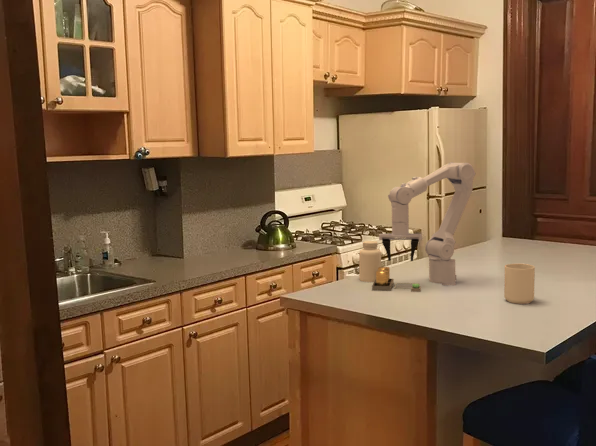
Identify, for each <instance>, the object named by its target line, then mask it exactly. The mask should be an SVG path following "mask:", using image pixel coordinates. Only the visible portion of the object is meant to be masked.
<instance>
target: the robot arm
mask: <svg viewBox="0 0 596 446" xmlns="http://www.w3.org/2000/svg"><path fill="white" fill-rule="evenodd" d="M475 176H476V172H475V169H474V166H473V165H472V164H471V163H470V162H454V161H451V162H448V163H447V164H443V165H442V166H441V167H439V168H437V169H436V170H434V171H433V172H430V173H429V174H428V175H426V176H424V177H422V176H413V177H412V178H411V180H409V181H407V182H406V183H405V182H402V183H401V184H400V186H394V187H393V188H391V189H390V191H389V193H388V195H387V197H388V200H389V201H390V203H391V233H379V234H378V239H379V241H381V243H382V246H383V247H384V249H385V252H386V255H387V261H389V262H391V261H392V255H391V254H392V253H391V241H392V240H393V241H402V240H403V241H407V240H408V241H410V262H414V256H415V255H414V254H415V253H416V252H415V251H416V249H417V246H418V244H419V241H423V234H422V233H409V232H410V225H409V223H410V222H409V221H410V220H409V219H410V218H409V217H410V216H409V203H411V201H412V199H414V198H416V197H417V196H419V195H422V194H423V193H425V192H426V191H427V190H428V187H429V186H431V185H433V184H436V183H438V182H440V181H442V180H444V179H445V180H446V179H447V180H448V181H449V182H450V184H451V185H452V186H453V189H454V190H455V191H454V193H453V196H452V198H451V200H450V203H449V205H448V207H447V209H446V212H445V214H444V216H443V219H442V220H441V221H442V222H441V223H440V225H439V229H437V230H436V231H435V232H434V233H433V234H432V235H431V237H430V239H428V240H427V241H426V244H425V246H424V250H425V252H426V254H427V255H428V256H427V257H428V277H429V278H428V280H429V281H428V282H431V283H434V284H441V285H442V286H456V280H457V275H456V259H455V258H454V259H452V257H453V255H454V253H455V245H456V240H455V237H454V235H455V233H456V229H457V228H458V226H459V223H460V220H461V218H462V216H463V214H464V211H465V209H466V207H467V204H468V202H469V200H470V198H471V195H472V193H473V183H474V178H475Z"/></svg>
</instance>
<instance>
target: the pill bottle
mask: <svg viewBox="0 0 596 446" xmlns="http://www.w3.org/2000/svg"><path fill="white" fill-rule="evenodd" d="M358 256H359V257H358V259H359V261H358V262H359V263H358V264H359V266H358V267H359V269H358V270H359V273H358V274H359V277H358V279H359V281H361V282H365V283H366V282H367V283H374V282H375V280H376V271H378V267H382V251H381V250H380V249H378V241H375V240H365V241H363V242H362V249H360V251H359V255H358Z"/></svg>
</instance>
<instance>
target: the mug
mask: <svg viewBox="0 0 596 446" xmlns="http://www.w3.org/2000/svg"><path fill="white" fill-rule="evenodd" d="M535 269H536V267H535V265H532V264H527V263H508V264H505V265H504V285H503V286H504V289H503V290H504V294H503V295H504V299H505V300H506V302H508V303H511V304H516V305H517V304H519V305H521V304H522V305H523V304H525V305H526V304H527V305H528V304H530V303H532V302H533V301H534V299H535V279H536V278H535V276H536V275H535Z"/></svg>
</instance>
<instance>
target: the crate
mask: <svg viewBox="0 0 596 446" xmlns="http://www.w3.org/2000/svg"><path fill="white" fill-rule="evenodd" d="M394 281H395V279H394V278H390V282H388V286H376V280H375V282H372V283H373V284H372V286H371V287H372V288H371V291H378V292H379V291H380V292H381V291H382V292H384V291H386V292H392V290H393V288H394V286H395V282H394Z"/></svg>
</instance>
